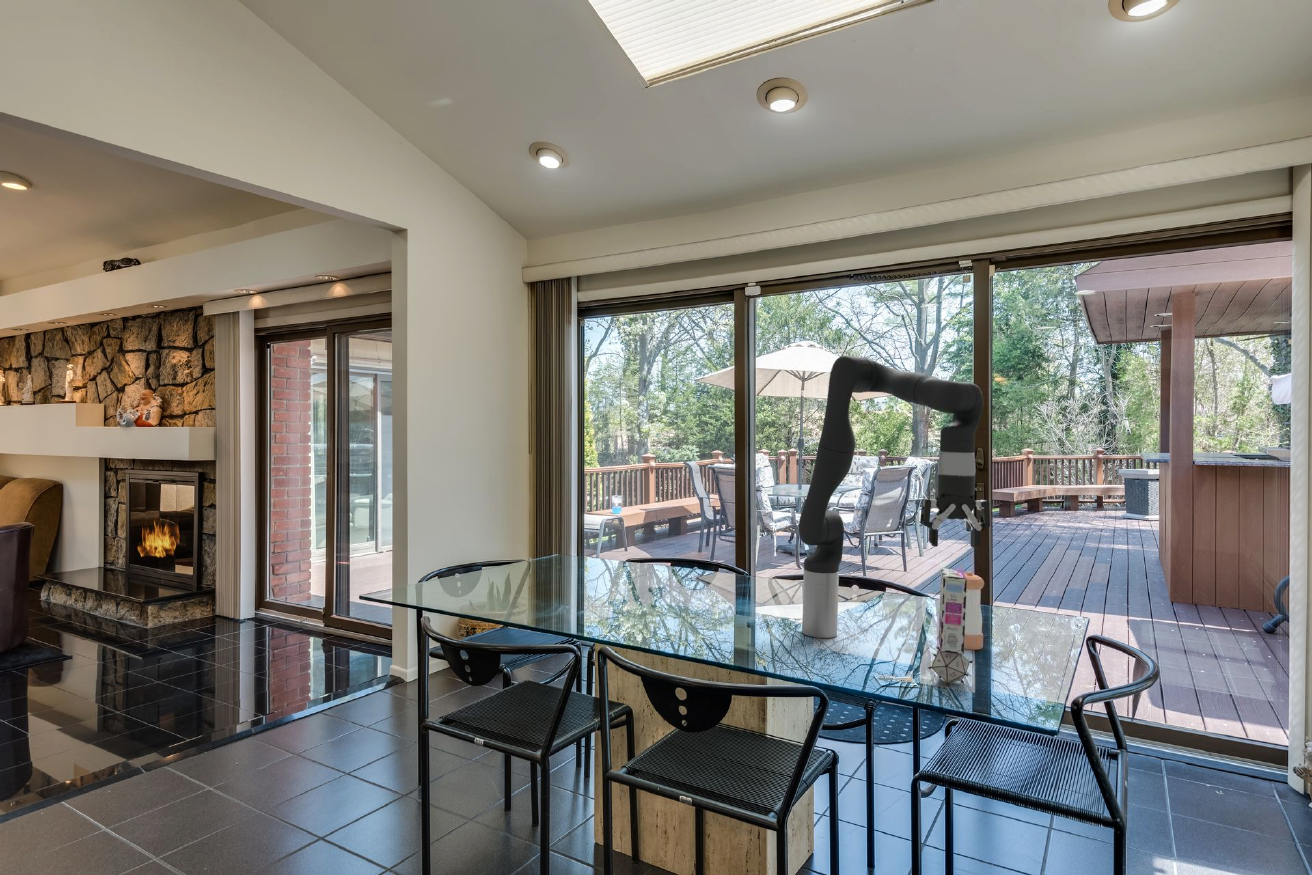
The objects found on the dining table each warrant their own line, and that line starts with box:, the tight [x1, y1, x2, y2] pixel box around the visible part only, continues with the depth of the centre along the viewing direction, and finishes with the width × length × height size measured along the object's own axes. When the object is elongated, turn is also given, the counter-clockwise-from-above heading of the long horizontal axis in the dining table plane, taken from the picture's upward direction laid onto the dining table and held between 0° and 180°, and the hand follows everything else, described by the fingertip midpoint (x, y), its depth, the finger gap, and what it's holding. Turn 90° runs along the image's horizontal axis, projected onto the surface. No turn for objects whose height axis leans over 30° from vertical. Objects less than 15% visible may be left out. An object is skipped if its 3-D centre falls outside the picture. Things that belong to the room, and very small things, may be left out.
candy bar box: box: [938, 567, 967, 655], centre depth 159 cm, size 11×5×16 cm, turn 161°
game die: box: [927, 646, 974, 687], centre depth 159 cm, size 9×8×10 cm
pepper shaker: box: [964, 571, 985, 651], centre depth 187 cm, size 7×7×19 cm
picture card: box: [873, 674, 920, 688], centre depth 158 cm, size 6×8×1 cm
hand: (954, 546), depth 158 cm, fingers open, 8 cm apart
